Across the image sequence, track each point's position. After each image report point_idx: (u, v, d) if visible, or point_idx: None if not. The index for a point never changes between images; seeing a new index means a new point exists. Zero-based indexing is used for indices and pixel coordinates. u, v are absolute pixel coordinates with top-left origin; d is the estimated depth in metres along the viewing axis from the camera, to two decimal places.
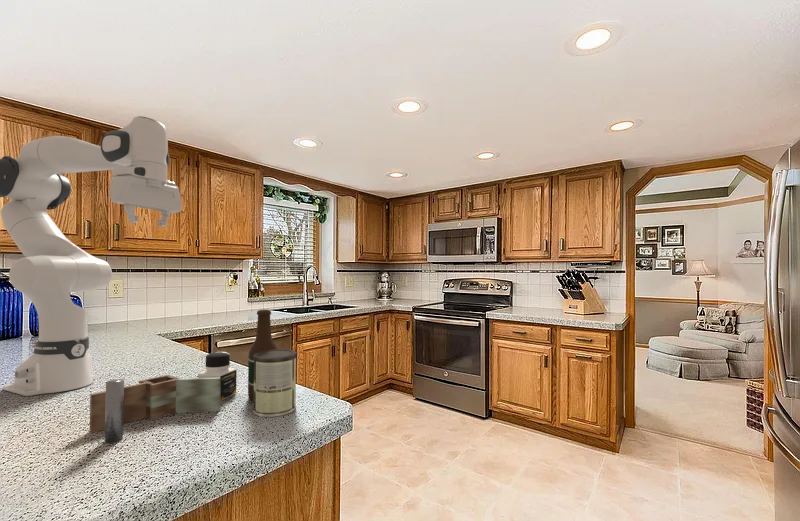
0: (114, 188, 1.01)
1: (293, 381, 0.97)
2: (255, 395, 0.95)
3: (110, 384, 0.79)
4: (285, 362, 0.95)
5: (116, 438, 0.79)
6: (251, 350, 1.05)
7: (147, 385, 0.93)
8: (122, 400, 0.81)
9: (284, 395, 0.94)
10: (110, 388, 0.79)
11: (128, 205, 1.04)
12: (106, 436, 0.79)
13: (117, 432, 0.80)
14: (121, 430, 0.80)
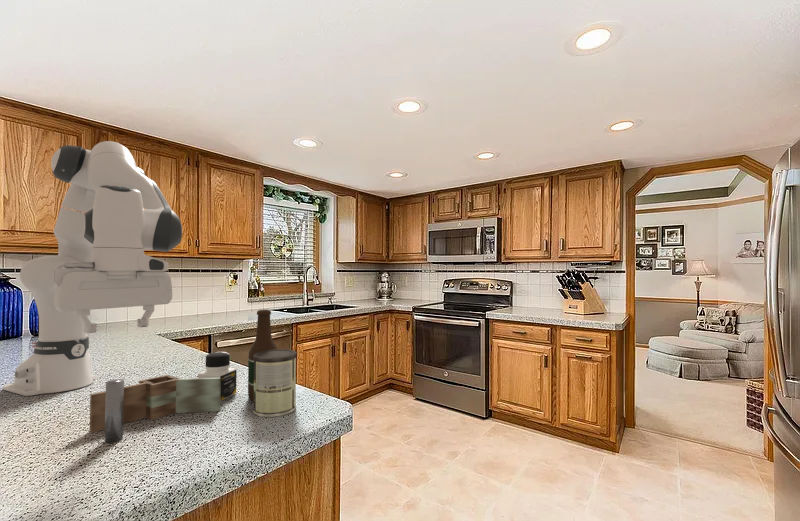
0: None
1: (293, 381, 0.97)
2: (255, 395, 0.95)
3: (110, 384, 0.79)
4: (285, 362, 0.95)
5: (116, 438, 0.79)
6: (251, 350, 1.05)
7: (147, 385, 0.93)
8: (122, 400, 0.81)
9: (284, 395, 0.94)
10: (110, 388, 0.79)
11: None
12: (106, 436, 0.79)
13: (117, 432, 0.80)
14: (121, 430, 0.80)
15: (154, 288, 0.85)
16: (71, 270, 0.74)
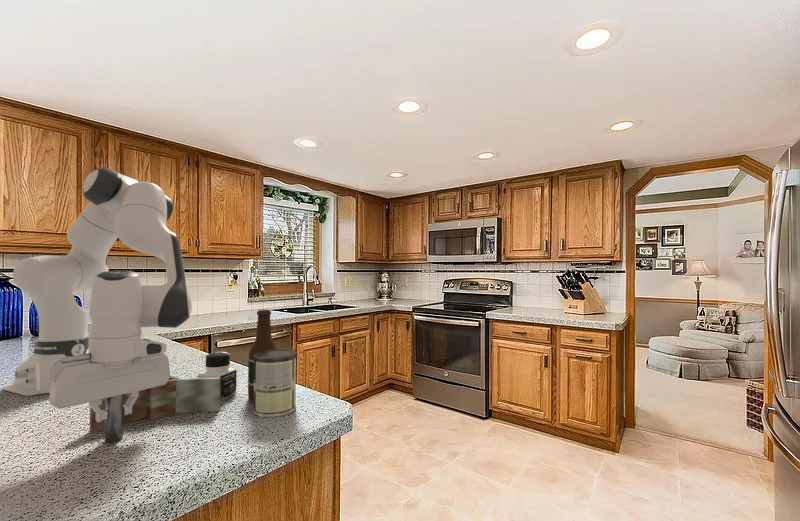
0: None
1: (293, 381, 0.97)
2: (255, 395, 0.95)
3: None
4: (285, 362, 0.95)
5: (116, 438, 0.79)
6: (251, 350, 1.05)
7: None
8: (122, 400, 0.81)
9: (284, 395, 0.94)
10: None
11: None
12: (106, 436, 0.79)
13: (117, 432, 0.80)
14: (121, 430, 0.80)
15: (152, 371, 0.85)
16: (67, 365, 0.74)
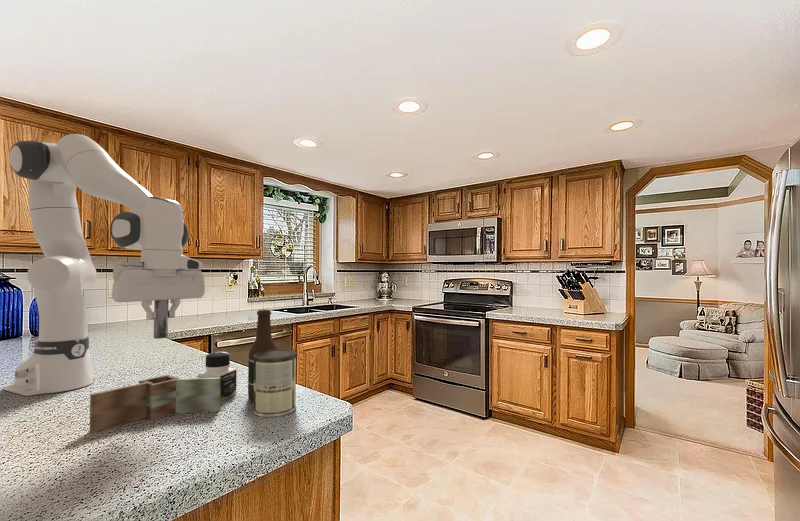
0: None
1: (293, 381, 0.97)
2: (255, 395, 0.95)
3: None
4: (285, 362, 0.95)
5: (163, 335, 0.95)
6: (251, 350, 1.05)
7: (147, 385, 0.93)
8: (167, 304, 0.97)
9: (284, 395, 0.94)
10: None
11: None
12: (155, 332, 0.95)
13: (164, 330, 0.95)
14: (167, 329, 0.96)
15: (191, 284, 1.01)
16: (126, 268, 0.90)
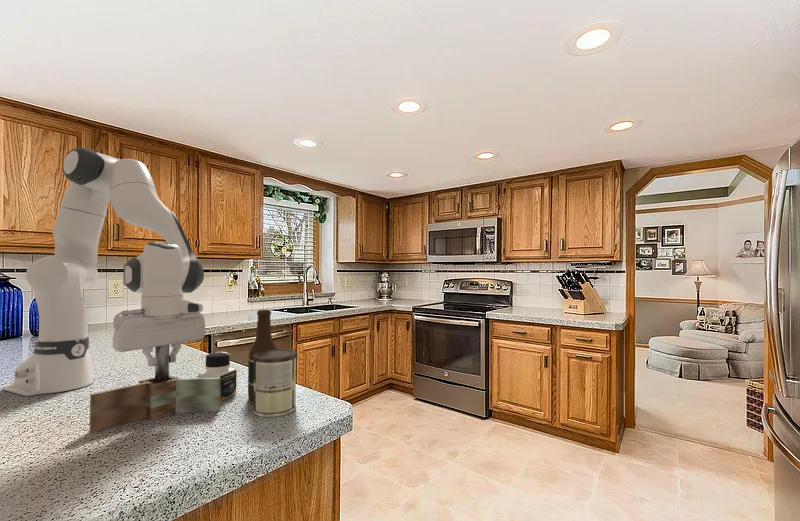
0: None
1: (293, 381, 0.97)
2: (255, 395, 0.95)
3: None
4: (285, 362, 0.95)
5: (164, 380, 0.95)
6: (251, 350, 1.05)
7: (147, 385, 0.93)
8: (168, 349, 0.97)
9: (284, 395, 0.94)
10: None
11: None
12: (156, 378, 0.95)
13: (165, 375, 0.95)
14: (168, 374, 0.96)
15: (191, 327, 1.01)
16: (126, 317, 0.90)
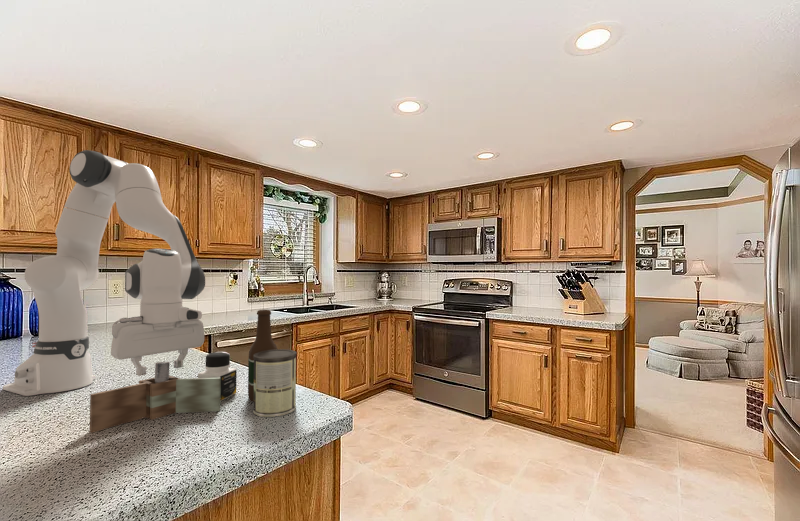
0: None
1: (293, 381, 0.97)
2: (255, 395, 0.95)
3: (159, 365, 0.95)
4: (285, 362, 0.95)
5: None
6: (251, 350, 1.05)
7: (147, 385, 0.93)
8: (168, 379, 0.96)
9: (284, 395, 0.94)
10: (159, 368, 0.95)
11: None
12: None
13: None
14: None
15: (190, 334, 1.00)
16: (125, 324, 0.89)
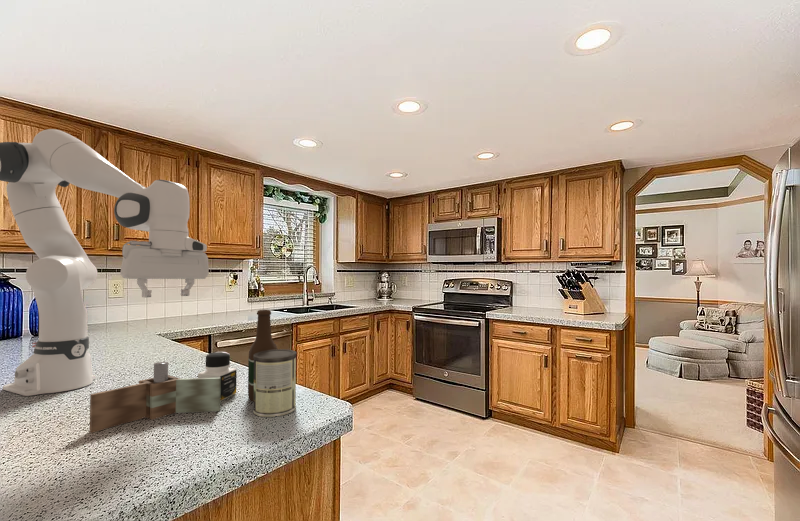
0: None
1: (293, 381, 0.97)
2: (255, 395, 0.95)
3: (157, 365, 0.95)
4: (285, 362, 0.95)
5: None
6: (251, 350, 1.05)
7: (147, 385, 0.93)
8: (167, 379, 0.96)
9: (284, 395, 0.94)
10: (158, 369, 0.95)
11: None
12: None
13: None
14: None
15: (195, 265, 1.05)
16: (134, 247, 0.95)
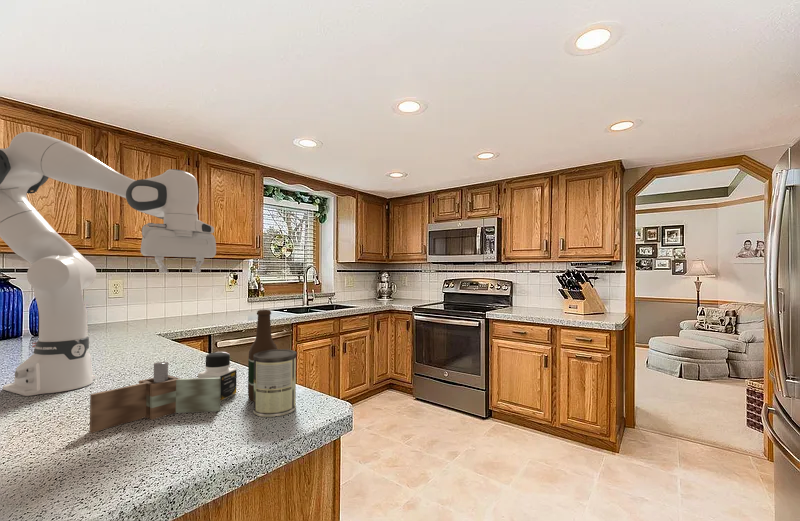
0: None
1: (293, 381, 0.97)
2: (255, 395, 0.95)
3: (157, 365, 0.95)
4: (285, 362, 0.95)
5: None
6: (251, 350, 1.05)
7: (147, 385, 0.93)
8: (167, 379, 0.96)
9: (284, 395, 0.94)
10: (158, 369, 0.95)
11: None
12: None
13: None
14: None
15: (204, 245, 1.19)
16: (152, 228, 1.08)
